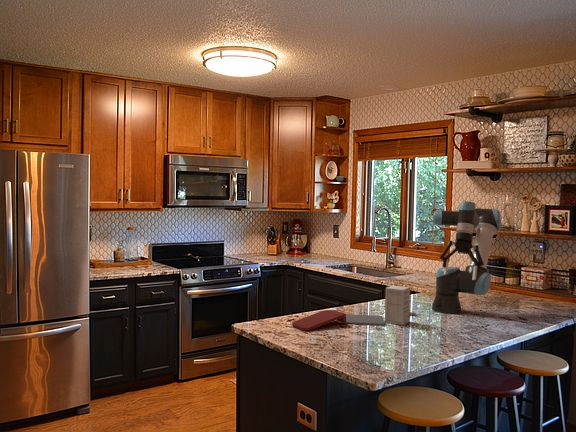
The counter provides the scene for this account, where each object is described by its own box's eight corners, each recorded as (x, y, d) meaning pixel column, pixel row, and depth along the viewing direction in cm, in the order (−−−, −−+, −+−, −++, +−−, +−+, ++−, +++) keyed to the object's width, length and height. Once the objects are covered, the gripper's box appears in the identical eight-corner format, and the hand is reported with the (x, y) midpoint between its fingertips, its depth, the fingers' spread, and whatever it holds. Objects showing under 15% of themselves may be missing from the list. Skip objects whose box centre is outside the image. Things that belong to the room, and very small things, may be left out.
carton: (306, 339, 229) (349, 322, 243) (305, 329, 229) (348, 312, 242) (291, 333, 239) (332, 316, 253) (289, 322, 239) (331, 307, 252)
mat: (342, 315, 261) (342, 314, 261) (381, 317, 259) (381, 315, 259) (343, 323, 245) (343, 322, 245) (385, 325, 243) (385, 323, 243)
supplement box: (409, 321, 252) (411, 287, 252) (403, 325, 244) (404, 289, 244) (391, 318, 257) (392, 284, 257) (384, 322, 250) (385, 287, 249)
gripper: (440, 227, 246) (435, 271, 242) (493, 236, 245) (489, 281, 241) (436, 230, 253) (431, 273, 249) (487, 239, 252) (483, 282, 248)
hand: (459, 277), depth 245 cm, fingers open, 13 cm apart
